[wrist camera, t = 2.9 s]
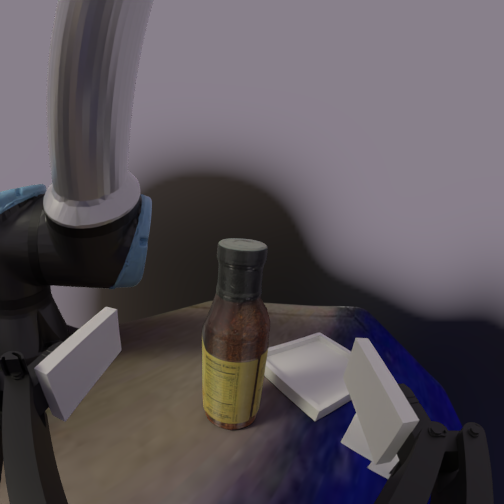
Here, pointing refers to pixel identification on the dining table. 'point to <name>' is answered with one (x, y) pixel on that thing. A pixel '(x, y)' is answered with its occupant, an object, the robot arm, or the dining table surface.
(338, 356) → the tray
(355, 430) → the white stepped block
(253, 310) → the sauce bottle
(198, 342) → the dining table surface
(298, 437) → the dining table surface
